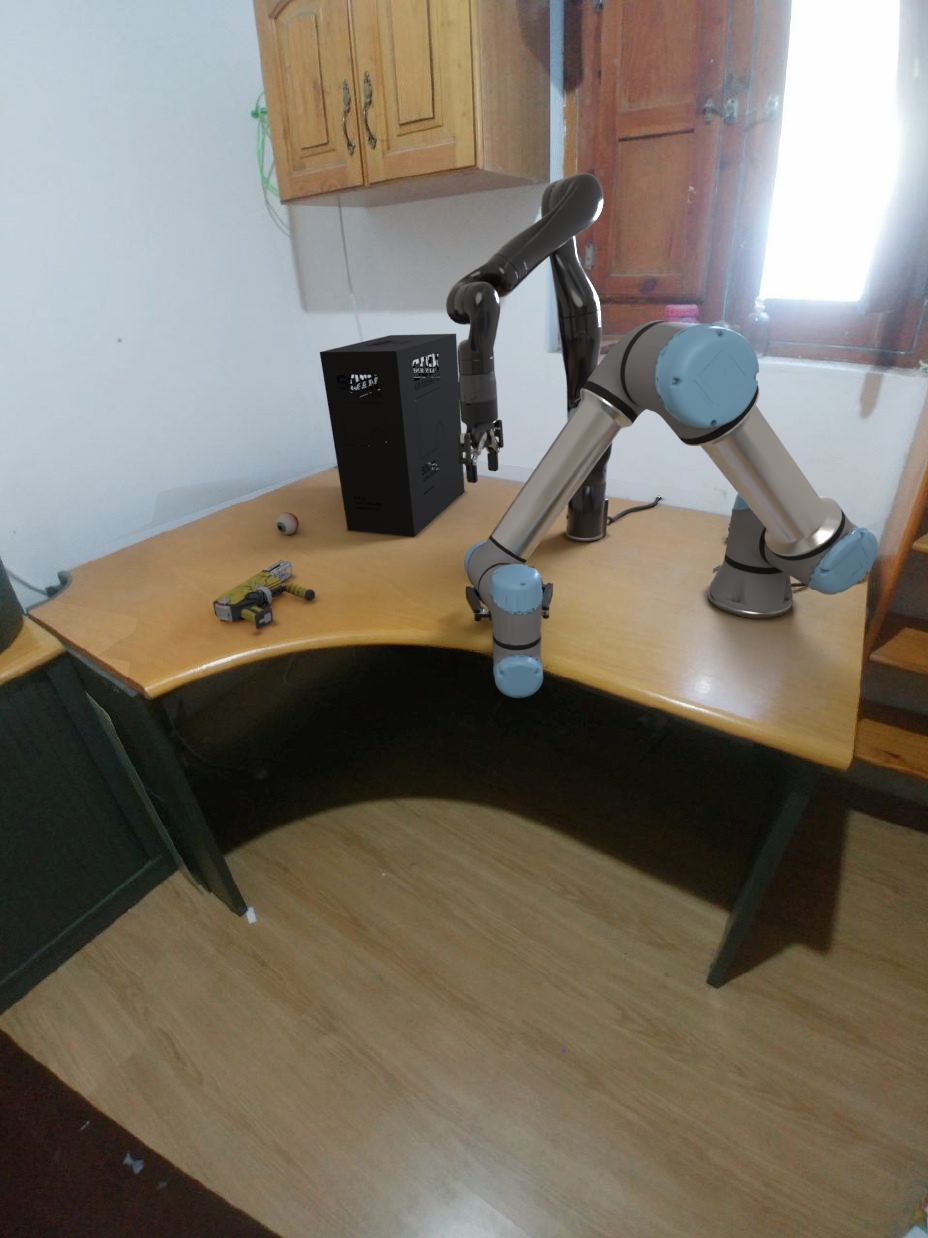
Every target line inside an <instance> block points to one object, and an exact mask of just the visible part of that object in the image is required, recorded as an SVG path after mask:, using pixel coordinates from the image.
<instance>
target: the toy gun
mask: <svg viewBox="0 0 928 1238" xmlns="http://www.w3.org/2000/svg"><path fill="white" fill-rule="evenodd" d="M288 569H290V570H291V571H290V572H287V570H288ZM292 576H293V565H292V562H291V561H290V560H286V561H285V560H284V559H280V560H279V561H277V562H275V563H273V565H271V566H269V567H268V568H266V569H262V570H261V571H259V572H258V573H255V575H253V576H251V577H250V578H248V579H246V580H245V581H243V582H241V583H240V584H238V585H236V586H234V587H233V588H232V589H230V590H228V591H227V592H225V593H224V594H222V595H220V596H219V597H217V598H216V599H214V600H213V601H212V605H213V612H214V616H215V617H216V618H217V619H219V622H221V623H225V624H227V623H229V622H230V623H236V622H238V623H239V622H242V621H246V620H247V621H249V622H252V623H254V624H255V628H256V630H261V629H263V628H264V627H266V626H268V625H270V624H271V623H273V622H274V615H273V609H272V607H271V605H272V603H273V599H274V598H276V597H279V596H281V595H282V594H283V593H287V594H291V595H293V596H296V597H299V598H300V599H304V600H306V601H308V602H311V601H312V600H314V599H315V598H316V593H315V591H314V589H312V588H307V587H305V586H302V585H299V584H296V583H293V582H292V581H289V582H286V584H285V585H284V584H283V583H282V582H284V581H286V580H287V579H288V578H290V577H292Z"/></svg>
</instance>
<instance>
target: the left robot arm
mask: <svg viewBox="0 0 928 1238" xmlns="http://www.w3.org/2000/svg"><path fill="white" fill-rule="evenodd" d="M603 205H604V191H603V187H602V185H601V183H600V181H599V179H598V178H597V177H596V176H595V175H593V174H592V173H588V172H579V173H574V174H572V175H569V176H566V177H564V178H560V179H558V180H554V181H551V182H550V183H549V184H548V185H546V187H545V189H544V190H543V192H542V195H541V201H540V215H541V216H540V217H541V218H540V219H538V220H537V221H536V222H534V223H533V224H531V225H530V226H528V227H526V228H525V229H524V230H523V229H522V231H520V232H518V233H517V234H516V235H514V236H512V238H510V239H509V240H508V241H507V242H505V243H504V244H503V245H502V246H501V247H500V248H499V249H498V250H497V251H496V252H495V253H494V254H493V255H492V256H490V258H489V259H488V260H487V261H486V262H485V263H484V264H482V265H481V266H479V267H476V268H475V269H473V270H472V271H471V272H469V273H468V274H466V275H465V276H463V277H462V278H461V279H459V280H458V281H457V282H455V284H454V285H453V286H452V287H451V288H450V290H449V292H448V294H447V297H446V299H445V309H446V310H445V311H446V314H447V316H448V317H449V319H450V320H451V321H452V322H454V323H455V324H458V325H464V326H469V330H468V331H469V332H468V337H467V338H466V339H464V340H461V341H460V342H459V343H458V344H457V359H458V378H459V397H460V416H461V423H463V424H464V425H465V426H466V430H465V433H462V432H461V433H458V434H457V448H458V463H459V464H463V465H464V466H465V475H466V481H467V483H469V484H476V483H478V481H479V478H478V464H477V462H478V458H479V456H481V455H482V451H483V450H484V449H485V450H486V452H487V453H486V455H487V456H486V457H487V469H488V471H490V472H497V471H499V453H500V449H504V447H505V446H504V445H505V444H504V431H503V420H502V419H499V407H498V405H499V404H498V385H497V377H496V371H495V369H496V368H495V367H496V365H495V350H494V349H495V348H494V347H495V345H496V340H497V334H498V327H499V322H500V317H501V316H500V315H501V301H500V299H503V298H506V297H507V296H509V295H511V294H512V293H513V292H514V291H515V290H516V289H517V288H518V287H519V286H520V285H521V284H522V283H523V282H524V281H525V280H526V279H527V278H528V277H529V276H530V275H531V274H532V273H533V272H534V271H535V270H536V269H537V268H538V267H539V266H540V265H541V264H542V263H543V262H545V261H546V260H547V259H549V263H550V269H551V274H552V282H553V283H552V284H553V290H554V297H555V305H556V306H555V307H556V317H557V328H558V335H559V336H558V337H559V341H560V348H561V349H560V351H561V357H562V363H563V368H564V373H565V381H566V420H567V421H568V420H569V418H570V417H571V415H572V414H573V412H574V411H575V410H576V408H577V407H578V405H579V404H580V402H581V393H580V390H581V389H582V387H583V386H584V385H585V383H586V382H587V380H588V379H589V377H590V376H591V374H592V373H593V371H594V370H595V369H596V367H597V366H598V364H599V360H600V353H601V349H602V341H603V340H602V339H603V323H602V322H603V321H602V310H601V300H600V297H599V295H598V292H597V290H596V289H595V286H594V285H593V283H592V282H591V280H590V278H589V277H588V274H587V273H586V271H585V270H584V267H583V266H582V264H581V261H580V258H579V255H578V248H577V241H576V236H577V235H578V234H580V233H581V232H584V231H585V230H586V229H587V228H589V227H591V226H592V225H593V224H595V223H596V221H597V220H598V218H599V217H600V215H601V212H602V210H603ZM567 421H566V422H567ZM497 438H498V439H497ZM612 451H613V441H612V442H611V444H610V445H609V447H608V448H607V449H606V451H605V452H604V454H603V455H602V456H601V458H600V459H599V461H598V462H597V463H596V465H595V466H594V468H593V469H592V470H591V472H590V473H589V475H588V476H587V477H586V479H585V480H584V482H583V483H582V484H581V486H580V487H579V489H578V490H577V491H576V493H575V494H574V495H573V497H572V498H571V500H570V501H569V502H568V504H567V505H566V516H565V518H566V527H565V536H566V537H567V538H568V539H570V540H572V541H576V542H583V543H584V542H586V543H587V542H594V541H599V540H600V539H602V538H604V536H607V530H608V529H607V528H608V527H607V526H608V521H609V522H611V523H612V522H613V523H614V522H615V521H617V520H619V519H620V518H621V517H622V516H624V515H626V514H628V513H630V512H634V511H639V510H644V509H649V508H651V507H654V506H656V505H657V504H658V502H659V500H660V501H661V500H662V499H663V498H662V496H661V497H660V498H659V497H657V496H656V497H655V500H654V501H653V502H652V503H648V504H644V505H639V506H634V507H630V508H627V509H624V510H622V511H621V512H620V513H618V514H617V515H616V516H615V517H612V516H608V514H609V498H607V497H606V493H607V477H608V465H609V461H610V459H611V456H612Z"/></svg>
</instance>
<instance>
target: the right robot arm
mask: <svg viewBox="0 0 928 1238" xmlns="http://www.w3.org/2000/svg"><path fill="white" fill-rule="evenodd" d="M758 359H759V358H758V357H757V353H756V351H755V348H754V347H753V345H752V344H751V343H750V342H749V340H748V339H747V338H746V337H745V336H743V335H742V334H740V333H739V332H737V331H735V330H733V329H729V328H727V327H724V326H722V325H717V324H715V323H714V324H713V323H690V322H677V321H670V320H652V321H648V322H644V323H642V324H640V325H638V326H636V327H634V328H633V329H632V330H630V331H629V332H627V333H625V334H624V335H623V336H622V337H621V338H620V339H619V340H617V342H616V343H615V344H614V345H613V346H612V347H611V348H610V350H608V352H607V353H606V354H605V356H603V358H602V359H601V361H600V362H598V366H597V367H596V369H595V370H594V371H593V373H592V374H591V376H590V377H589V379H588V380H587V382H586V383H585V385H584V386H583V387H582V389H581V390H580V393H581V402H580V404H579V405H578V407H577V408H576V410H575V411H574V412H573V414H572V415H571V417H570V418H569V420H568V421H566V422H565V424H564V426H563V427H562V428H561V430H560V432H559V433H558V434H557V436H556V438H555V439H554V441H553V442H552V443H551V445H550V446H549V448H548V449H547V451H546V452H545V454H544V455H543V456H542V458H541V459H540V461H539V463H538V464H537V465H536V467H535V469H534V470H533V471H532V473H531V474H530V476H529V477H528V479H527V480H526V482H525V483H524V485H523V486H522V487H521V489H520V491H519V492H518V494H517V495H516V497H515V498H514V499H513V500H512V502H511V504H510V505H509V507H508V508H507V510H506V511H505V512H504V514H503V516H502V517H501V518H500V520H499V521H498V523H497V524H496V526H495V527H494V528H493V531H492V532H491V533H490V535H489V536H488V538H487V539H486V540H482V541H479V542H477V543H475V544H473V545H472V546H470V547H469V548H468V549H467V551H466V553H465V555H464V557H463V569H464V572H465V574H466V576H467V579H468V581H469V583H470V585H467V586H465V599H466V602H467V603H468V605H469V607H470V609H471V611H472V613H473V621H474V622H476V623H477V622H481V621H482V619H486V618H487V619H488V620H489V621H490V623H491V642H492V661H493V664H492V665H493V667H492V675H493V677H494V683H495V686H496V688H497V690H499V691H500V693H502V694H503V695H504V696H507V697H510V698H513V699H522V698H527V697H530V696H533V695H534V694H536V692H538V691H539V689H540V688H541V686H542V684H543V681H544V665H543V664H542V619H545V620H549V618H550V605H551V602H552V598H553V594H554V584H553V582H547V583H546V584H545V583H544V582H543V578H542V576H541V573H540V572H539V571H538V570H537V569H536V568H535V566H530V567H529V565H527V564H526V563H527V562H528V560H529V559H530V557H531V556H532V555H533V553H534V551H535V550H536V549H537V547H538V546H539V545H540V543H541V542H542V540H543V539H544V538H545V536H546V535H547V533H548V532H549V530H550V529H551V528H552V526H553V525H554V523H555V522H556V521H557V520H558V518H559V517H560V515H561V514H562V513H563V511H564V510H565V509H566V508H567V504H568V502H569V501H570V500H571V498H572V497H573V495H574V494H575V493H576V491H577V490H578V489H579V487H580V486H581V484H582V483H583V482H584V480H585V479H586V477H587V476H588V475H589V473H590V472H591V470H592V469H593V468H594V466H595V465H596V463H597V462H598V461H599V459H600V458H601V456H602V455H603V454H604V452H605V451H606V449H607V448H608V447H609V445H610V444H611V442H612V443H613V441H614V440H615V439H616V437H617V436H618V434H619V433H620V431H621V430H623V429H626V428H630V427H632V426H633V424H634V423H635V422H636V420H637V419H638V417H639V416H640V415H641V414H642V413H644V411H646V410H648V411H651V412H653V413H656V414H657V415H658V416H659V417H660V418H662V419H663V421H664V422H665V423H666V425H668V427H669V428H670V429H671V430H672V431H673V432H674V434H675V435H676V436H677V438H678V439H679V440H680V441H681V442H682V443H683V444H684V445H687V446H690V447H700V448H702V450H703V451H704V452H705V453H706V455H707V456H708V457H709V459H710V460H711V461H712V463H713V464H714V465H715V466H716V468H717V469H718V470H719V472H721V474H722V475H723V477H725V479H726V480H727V481H728V482H729V484H730V485H731V486H732V488H734V490H735V491H736V493H737V494H736V496H735V500H734V503H733V507H732V508H731V514H730V515H731V516H730V522H729V523H730V527H729V531H728V534H727V537H728V540H726V546H725V553H724V559H723V562H722V563H721V564H719V565H718V566H716V567H713V569H712V574H714V573H716V574H715V575H714V577H713V579H712V581H711V582H710V585H709V587H708V593H707V598H708V600H709V602H710V603H711V604H712V605H713V606H714V607H716V608H717V609H719V610H721V611H722V612H724V613H727V614H729V615H733V616H737V617H742V618H745V619H756V620H757V619H758V620H765V619H775V618H779V617H781V616H784V615H786V614H787V613H789V612H790V611H791V608H792V604H793V601H794V600H793V598H794V597H793V596H794V594H793V588H798V587H799V588H800V587H805V586H807V587H808V589H810V590H813V591H816V592H818V593H821V594H823V595H827V596H828V595H829V596H830V595H831V596H832V595H837V594H839V593H843V592H845V591H847V590H849V589H850V588H853V587H854V586H855V585H857V583H859V582H860V581H861V580H862V579H863V577H864V576H865V575H866V574H867V573H868V572H869V570H870V569H871V568H872V565H873V563H874V561H875V559H876V558H877V554H878V550H879V543H878V539H877V536H876V535H875V534H874V533H873V532H871V531H869V530H868V529H867V527H864V526H860V527H859V526H858V525H856V524H854V523H853V522H852V521H851V520H850V519H849V518H848V516H847V515H846V514H845V512H844V510H843V509H842V507H841V506H840V505H839V503H838V502H837V501H836V500H835V499H833V498H832V497H829V496H826V495H819V494H818V493H817V491H816V489H814V487H813V486H812V484H811V483H810V481H809V480H808V478H807V477H806V476H805V474H804V472H803V471H802V470H801V468H800V467H799V465H798V464H797V462H796V461H795V459H794V458H793V456H792V455H791V454H790V452H789V450H788V449H787V448H786V447H785V445H784V444H783V442H782V441H781V439H780V438H779V436H778V435H777V433H776V432H775V430H774V429H773V427H772V426H771V425H770V423H769V422H768V420H767V418H765V416H764V415H763V413H762V412H761V410H760V409H759V407H758V406H757V403H758V400H759V397H760V387H759V386H760V385H759V381H758V379H757V374H758V373H760V364H759V360H758ZM791 578H793V579H795V580H796V581H799V582H792V581H791ZM471 585H472V586H473V587H472V586H471ZM482 604H483V605H482ZM484 606H485V607H486V608H487V609H488V610H487V609H486V608H485V607H484Z"/></svg>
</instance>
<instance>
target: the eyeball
mask: <svg viewBox="0 0 928 1238" xmlns="http://www.w3.org/2000/svg"><path fill="white" fill-rule="evenodd" d="M299 525H300V522H299V519H298V517H297V516H296V515H295V514H294V513H292V512H287V511H286V512H282V513H280V514H279V515H278V516H277V517H276V520H275V527H276V529H277V530H278V531H279V532H280V533H281V534H282V535H285V536H286V535H287V536H289V535H293V534H295V533H296V532H297V531H298V529H299Z"/></svg>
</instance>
